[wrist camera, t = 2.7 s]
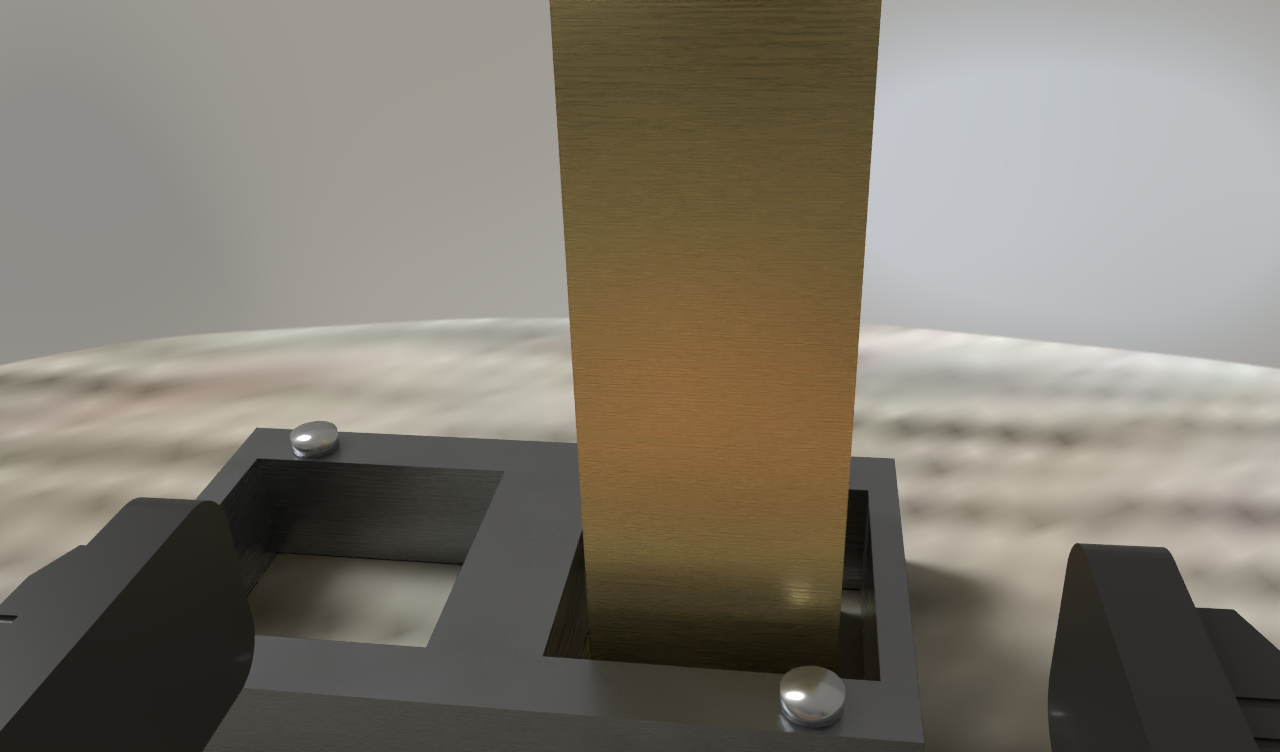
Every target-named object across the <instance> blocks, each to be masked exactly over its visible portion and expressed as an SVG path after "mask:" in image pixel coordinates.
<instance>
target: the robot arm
mask: <svg viewBox="0 0 1280 752" xmlns="http://www.w3.org/2000/svg"><path fill="white" fill-rule="evenodd" d="M254 646H255V633H254V625H253V620H252V616H251V612H250V608H249V604H248V600H247V596H246V592H245V588H244V583H243V579H242V575H241V571H240V567H239V563H238V559H237V555H236V551H235V547H234V543H233V539H232V535H231V531H230V527H229V523H228V520H227V517H226V515H225V513H224V511H223V509H222V508H221V506H220V505H218V504H217V503H216V502H214V501H207V500H186V499H164V498H143V497H140V498H136V499H133V500H132V501H130V502H129V503H127V504H126V505H125V506H124V507H123V508H122V509H121V510H120V511H119V512H118V513H117V514H116V515H115V516H114V517H113V518H112V519H111V520H110V521H109V523H108V524H107V525H106V526H105V527H104V528H103V529H102V530H101V531H100V532H99V533H98V534H97V535H96V536H95V537H94V538H93V539H92V540H91V541H90V542H89V543H88V544H87V545H80V546H78V547H76V548H75V549H73V550H71V551H70V552H68V553H66V554H65V555H63V556H61V557H60V558H58V559H56V560H55V561H53V562H52V563H50V564H48V565H47V566H45V567H43V568H42V569H40V570H38V571H37V572H35V573H33V574H32V575H30V576H28V577H27V578H26V579H25V580H24V581H23V582H22V583H21V584H20V585H19V586H18V587H17V588H16V589H15V590H14V591H13V592H12V593H11V594H10V595H9V596H8V597H7V598H6V599H5V600H4V601H3V602H2V603H1V604H0V752H203V750H204V748H205V747H206V745H207V744H208V742H209V741H210V739H211V738H212V736H213V734H214V733H215V731H216V730H217V728H218V727H219V725H220V724H221V722H222V720H223V719H224V717H225V716H226V714H227V713H228V711H229V710H230V708H231V706H232V705H233V703H234V702H235V700H236V699H237V697H238V695H239V694H240V692H241V691H242V689H243V687H244V685H245V683H246V681H247V678H248V675H249V672H250V669H251V665H252V661H253V655H254ZM1048 720H1049V732H1050V740H1051V747H1052V752H1280V650H1278V649H1277V648H1276V647H1275V646H1274V645H1273V644H1272V643H1271V642H1269V641H1268V640H1267V639H1266V638H1265V637H1264V636H1263V635H1262V634H1261V633H1259V632H1258V631H1257V630H1256V629H1255V628H1254V627H1253V626H1252V625H1250V624H1249V623H1248V622H1247V621H1246V620H1245V619H1244V618H1243V617H1241V616H1240V615H1239V614H1238V613H1237V612H1236V611H1235V610H1231V609H1213V608H1195V606H1194V603H1193V601H1192V599H1191V597H1190V594H1189V592H1188V590H1187V588H1186V585H1185V583H1184V581H1183V579H1182V576H1181V574H1180V572H1179V570H1178V567H1177V565H1176V563H1175V561H1174V559H1173V557H1172V555H1171V553H1170V552H1169V551H1168V549H1166V548H1164V547H1144V546H1122V545H1101V544H1079V543H1076V544H1075V545H1074V546H1073V547H1072V549H1071V552H1070V554H1069V558H1068V563H1067V568H1066V575H1065V581H1064V587H1063V594H1062V600H1061V607H1060V613H1059V619H1058V626H1057V632H1056V638H1055V645H1054V651H1053V658H1052V664H1051V670H1050V678H1049V688H1048Z"/></svg>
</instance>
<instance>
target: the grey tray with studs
mask: <svg viewBox="0 0 1280 752" xmlns="http://www.w3.org/2000/svg"><path fill="white" fill-rule="evenodd" d="M196 500H207V501H214V502H216V503H217V504H218V505H220V506H221V508H222V509H223V511H224V513H225V515H226V517H227V520H228V523H229V527H230V531H231V535H232V539H233V543H234V547H235V551H236V555H237V559H238V563H239V567H240V571H241V575H242V579H243V583H244V588H245V592H246V596H248V594H249V593H250V591H251V590H252V589H253V587H254V586H255V584H256V583H257V581H258V580H259V578H260V577H261V575H262V574H263V573H264V571H265V570H266V568H267V567H268V565H269V564H270V562H271V561H272V559H273V558H274V557H275V555H276V554H277V552H285V553H300V554H316V555H332V556H347V557H363V558H379V559H394V560H410V561H426V562H441V563H457V564H463V566H462V568H461V571H460V573H459V575H458V577H457V580H456V582H455V584H454V586H453V589H452V591H451V593H450V595H449V597H448V600H447V602H446V604H445V606H444V609H443V611H442V613H441V615H440V618H439V620H438V622H437V624H436V627H435V629H434V631H433V633H432V636H431V638H430V640H429V642H428V645H427V647H426V648H424V647H410V646H397V645H384V644H370V643H357V642H343V641H330V640H316V639H303V638H289V637H276V636H262V635H255V646H254V655H253V661H252V665H251V669H250V672H249V675H248V678H247V681H246V683H245V685H244V687H243V689H242V691H241V692H240V694H239V695H238V697H237V699H236V700H235V702H234V703H233V705H232V706H231V708H230V710H229V711H228V713H227V714H226V716H225V717H224V719H223V720H222V722H221V724H220V725H219V727H218V728H217V730H216V731H215V733H214V734H213V736H212V738H211V739H210V741H209V742H208V744H207V745H206V747H205V748H204V750H203V752H923V751H924V735H923V725H922V716H921V706H920V697H919V687H918V678H917V668H916V659H915V649H914V640H913V631H912V621H911V612H910V602H909V593H908V583H907V574H906V564H905V555H904V545H903V536H902V527H901V517H900V508H899V498H898V489H897V479H896V470H895V460H894V459H890V458H869V457H851V461H850V475H849V490H848V505H847V520H846V535H845V549H844V564H843V579H842V588H849V589H861V609H862V630H863V650H864V671H865V680H855V679H841V678H839V676H837V675H836V674H835V673H833V672H832V671H830V670H828V669H825V668H822V667H818V666H801V667H797V668H794V669H792V670H790V671H789V672H787V673H786V674H774V673H760V672H747V671H733V670H720V669H706V668H693V667H680V666H666V665H653V664H639V663H626V662H612V661H599V660H585V659H581V657H582V653H583V649H584V645H585V642H586V638H587V634H588V630H589V620H588V604H587V589H586V573H585V557H584V541H583V525H582V509H581V493H580V477H579V461H578V445H577V443H560V442H539V441H519V440H498V439H477V438H457V437H436V436H416V435H395V434H374V433H354V432H337V427H336V426H335V425H334V424H333V423H330V422H326V421H314V422H309V423H305V424H303V425H300V426H298V427H297V428H295V429H294V430H292V429H271V428H256V429H255V430H254V432H253V433H252V434H251V435H250V436H249V437H248V439H247V440H246V441H245V442H244V443H243V444H242V446H241V447H240V448H239V449H238V450H237V452H236V453H235V454H234V455H233V456H232V457H231V459H230V460H229V461H228V462H227V463H226V464H225V466H224V467H223V468H222V469H221V470H220V472H219V473H218V474H217V475H216V476H215V477H214V479H213V480H212V481H211V482H210V483H209V484H208V486H207V487H206V488H205V489H204V490H203V492H202V493H201V494H200V495H199V496H198V497H197V499H196Z"/></svg>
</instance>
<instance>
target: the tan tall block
mask: <svg viewBox="0 0 1280 752" xmlns="http://www.w3.org/2000/svg"><path fill="white" fill-rule="evenodd" d="M881 2H882V1H881V0H550V16H551V32H552V48H553V64H554V77H555V78H554V80H555V95H556V112H557V126H558V127H557V128H558V143H559V158H560V174H561V190H562V207H563V222H564V239H565V254H566V269H567V270H566V271H567V286H568V302H569V318H570V334H571V350H572V366H573V382H574V398H575V414H576V430H577V445H578V461H579V477H580V493H581V509H582V525H583V541H584V557H585V573H586V589H587V604H588V620H589V636H590V652H591V660H599V661H612V662H626V663H639V664H653V665H666V666H680V667H693V668H706V669H720V670H733V671H747V672H760V673H774V674H786V673H787V672H789V671H790V670H792V669H794V668H797V667H801V666H818V667H822V668H825V669H828V670H830V671H832V672H833V673H835V674H836V668H837V653H838V638H839V623H840V609H841V594H842V579H843V564H844V549H845V535H846V520H847V505H848V490H849V475H850V461H851V446H852V431H853V416H854V401H855V387H856V372H857V357H858V342H859V327H860V312H861V298H862V283H863V268H864V253H865V239H866V224H867V223H866V222H867V208H868V194H869V179H870V164H871V150H872V135H873V120H874V105H875V91H876V75H877V60H878V46H879V31H880V17H881Z"/></svg>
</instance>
